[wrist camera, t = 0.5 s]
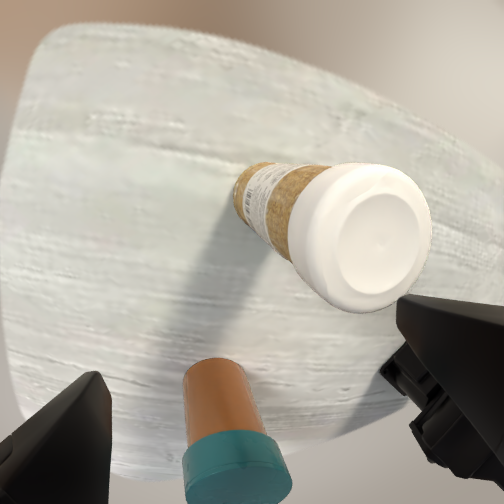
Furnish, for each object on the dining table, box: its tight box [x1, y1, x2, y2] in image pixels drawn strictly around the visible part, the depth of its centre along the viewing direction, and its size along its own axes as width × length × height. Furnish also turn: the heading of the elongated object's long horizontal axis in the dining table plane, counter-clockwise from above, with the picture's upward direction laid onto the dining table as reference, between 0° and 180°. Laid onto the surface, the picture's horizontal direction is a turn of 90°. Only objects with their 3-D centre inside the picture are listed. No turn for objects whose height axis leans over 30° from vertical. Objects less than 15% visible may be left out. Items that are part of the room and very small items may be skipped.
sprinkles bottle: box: [233, 162, 432, 313], centre depth 15 cm, size 5×5×14 cm
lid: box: [182, 430, 292, 504], centre depth 16 cm, size 6×6×3 cm
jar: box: [183, 358, 267, 448], centre depth 20 cm, size 5×5×11 cm
